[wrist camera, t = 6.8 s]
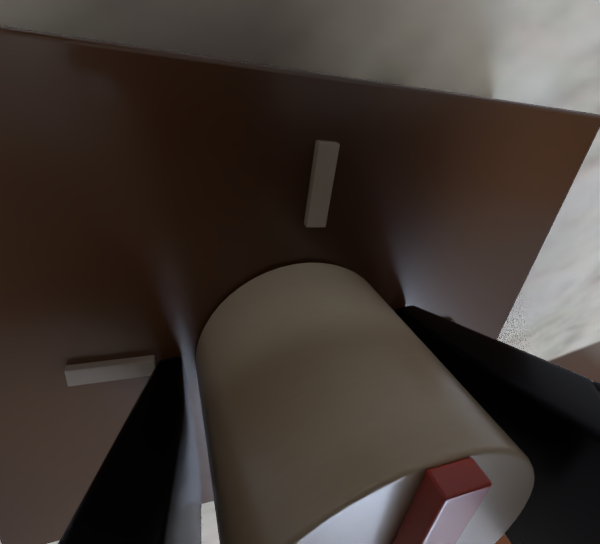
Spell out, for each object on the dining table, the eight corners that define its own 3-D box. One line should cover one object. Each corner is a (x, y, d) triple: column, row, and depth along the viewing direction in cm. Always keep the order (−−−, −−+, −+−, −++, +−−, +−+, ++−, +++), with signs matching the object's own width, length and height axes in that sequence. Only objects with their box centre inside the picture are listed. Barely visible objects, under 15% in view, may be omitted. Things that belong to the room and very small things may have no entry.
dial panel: (39, 437, 10) (2, 564, 8) (-93, 11, 6) (-291, -16, 3) (398, 376, 15) (451, 445, 12) (495, 99, 10) (615, 116, 7)
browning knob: (360, 397, 9) (484, 606, 6) (196, 429, 8) (230, 725, 5) (400, 256, 7) (619, 441, 4) (193, 266, 6) (249, 561, 3)
